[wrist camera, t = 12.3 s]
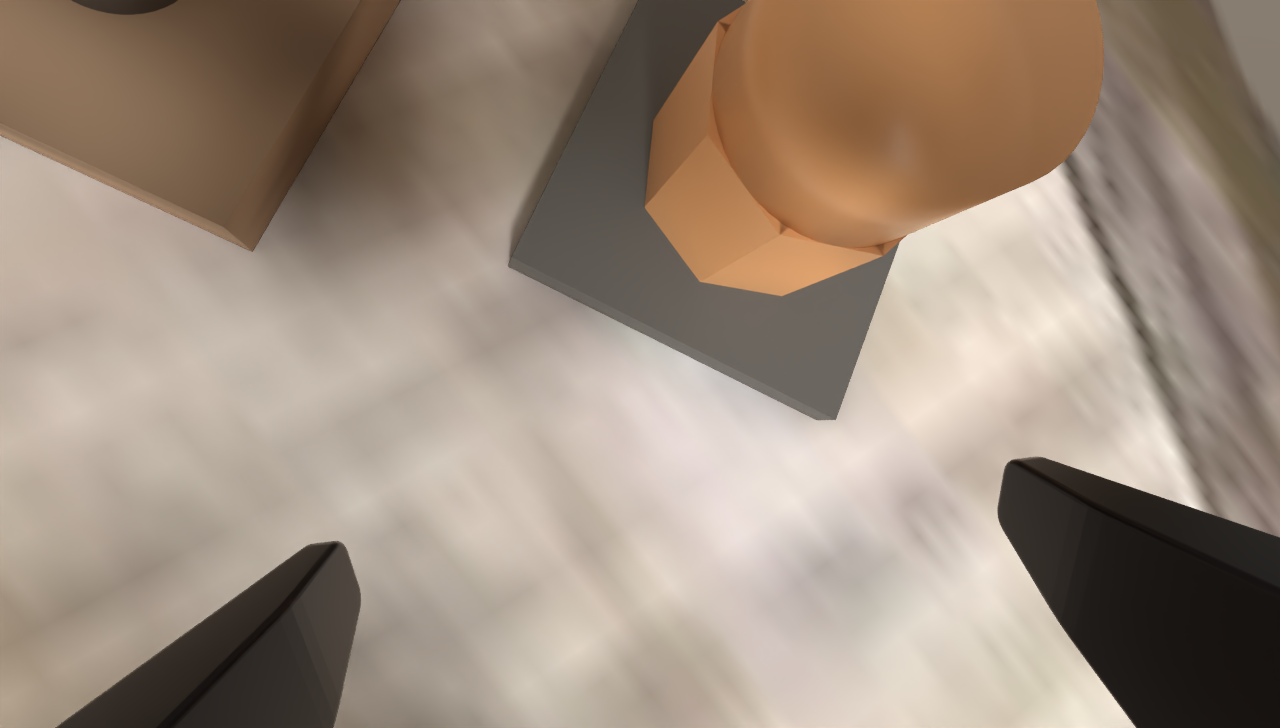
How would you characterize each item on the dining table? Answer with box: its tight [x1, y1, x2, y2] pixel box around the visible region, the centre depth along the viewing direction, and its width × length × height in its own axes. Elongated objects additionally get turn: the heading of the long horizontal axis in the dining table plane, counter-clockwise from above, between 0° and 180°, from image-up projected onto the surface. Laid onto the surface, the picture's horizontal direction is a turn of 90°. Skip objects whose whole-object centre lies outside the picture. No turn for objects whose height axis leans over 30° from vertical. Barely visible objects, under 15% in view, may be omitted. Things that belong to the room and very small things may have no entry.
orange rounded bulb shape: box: [644, 0, 1104, 296], centre depth 14 cm, size 6×6×8 cm
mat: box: [509, 0, 899, 420], centre depth 19 cm, size 10×10×1 cm
